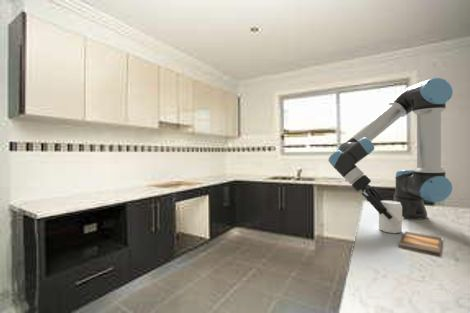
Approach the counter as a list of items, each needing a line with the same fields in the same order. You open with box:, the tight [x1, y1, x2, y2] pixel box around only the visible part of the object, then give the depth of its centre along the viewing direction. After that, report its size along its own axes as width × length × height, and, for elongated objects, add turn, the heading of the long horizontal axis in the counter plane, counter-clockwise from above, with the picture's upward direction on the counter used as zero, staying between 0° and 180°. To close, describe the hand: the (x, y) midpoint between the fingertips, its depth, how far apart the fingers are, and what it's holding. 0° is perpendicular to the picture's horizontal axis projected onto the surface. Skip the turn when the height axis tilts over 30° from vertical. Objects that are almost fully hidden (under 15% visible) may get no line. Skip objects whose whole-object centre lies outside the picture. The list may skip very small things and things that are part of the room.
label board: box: [398, 231, 442, 257], centre depth 90 cm, size 18×11×1 cm, turn 139°
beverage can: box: [378, 199, 403, 234], centre depth 103 cm, size 8×8×12 cm
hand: (399, 222), depth 101 cm, fingers closed on beverage can, 8 cm apart
